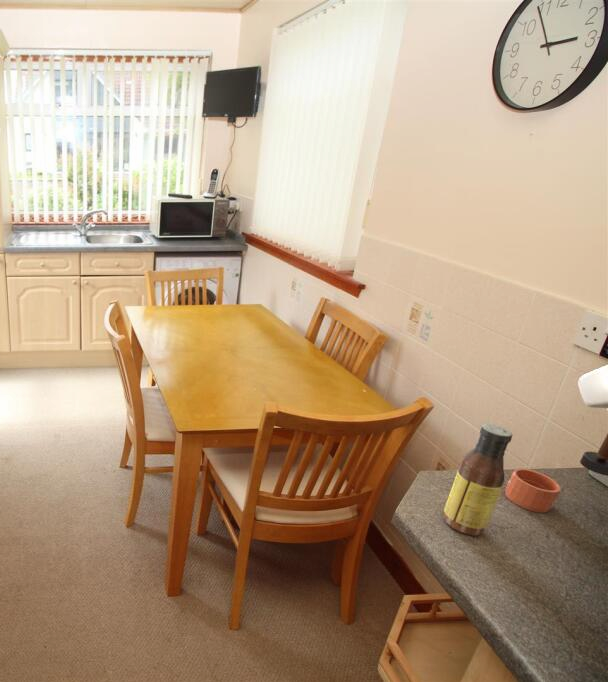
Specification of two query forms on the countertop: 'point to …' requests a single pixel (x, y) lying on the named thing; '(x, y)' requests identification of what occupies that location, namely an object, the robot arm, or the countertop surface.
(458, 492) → the sauce bottle
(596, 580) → the countertop surface
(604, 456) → the toilet plunger
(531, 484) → the bowl
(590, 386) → the robot arm
